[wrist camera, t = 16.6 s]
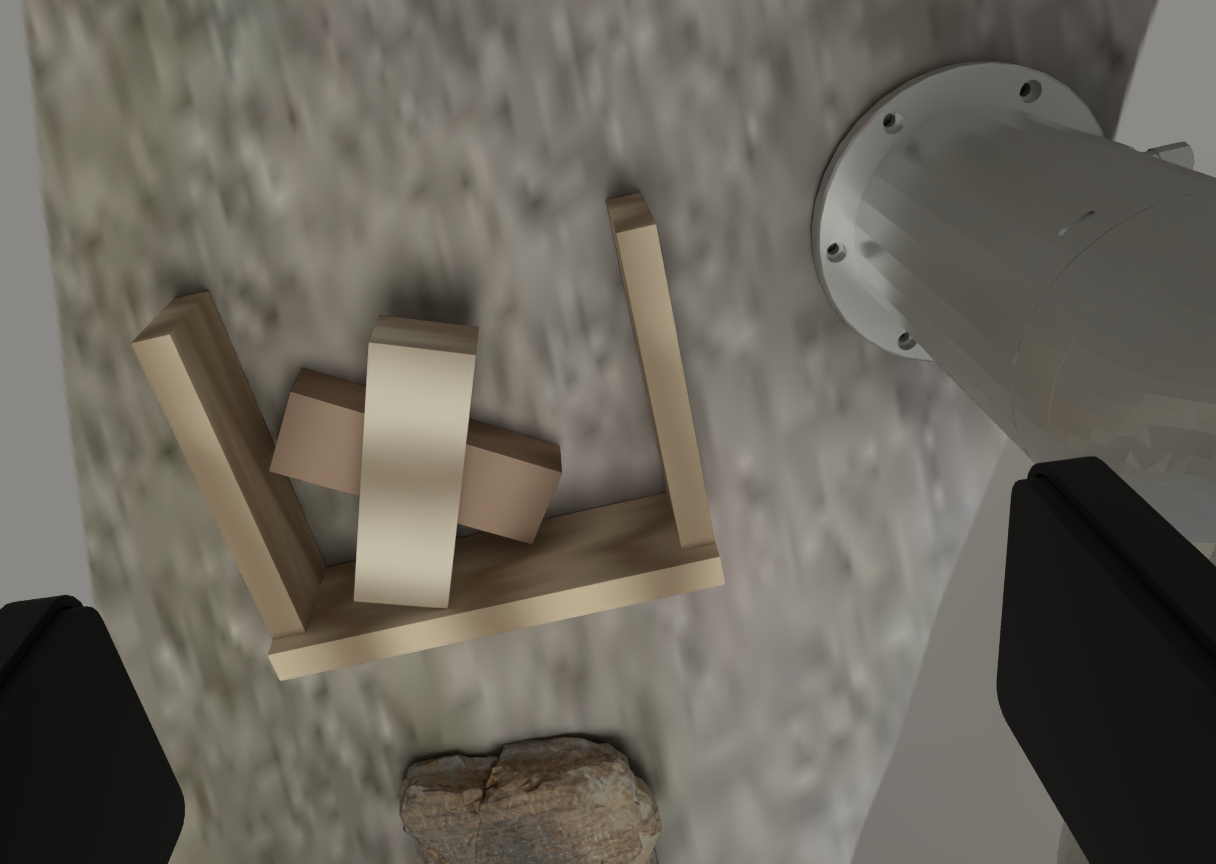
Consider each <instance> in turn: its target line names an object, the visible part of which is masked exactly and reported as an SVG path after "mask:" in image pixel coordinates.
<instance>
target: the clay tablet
mask: <svg viewBox="0 0 1216 864" xmlns="http://www.w3.org/2000/svg"><path fill="white" fill-rule="evenodd" d="M397 798H398V799H400V817H401V819H402V821H403V823H404V828H403V830H404V831H405V832H406V833H408V834H409V835H410V836H412V837H413V838H415V846H416V853H417V859H418V860H419V861H420V862H421V863H422V864H657V859H656V854H655V850H654V846H655V844H656V842H657V840H658V838H659V835H660V833H661V822H660V816H659V811H658V807H657V804H656V802H655V799H654V797H653V795H652V792H651V790H650V789H649V787H648V786H647V785H646V783H645V782H644V780H642V779H640V778H638V777H636V776H635V775H634V773H633V772H632V771H631V770H630V767H629V763H628V760H627V756H626V755H624V754H623V753H621V752H620V751H618V750H617V749H615V748H614V747H613V746H612V745H610V744H609V743H602V744H597V743H594V742H592V741H589V740H586V739H583V738H575V737H562V736H561V737H555V738H550V739H545V740H525V741H521V742H517V743H512V744H505V745H504V746H503V751H502V753H501V754H500V757H499V756H492V755H488V756H486V757H484V758H483V757H474V758H469V757H466V756H463V755H460V754H458V755H452V756H446V757H440V758H434V759H428V760H423V761H419V762H415V763H414V764H413V765H412V766H411V767H410V768H409V769H408V772H407V777H406V779H405V780H404V782H403V783H402V785H401V788H400V790H399V793H398V796H397Z"/></svg>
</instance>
